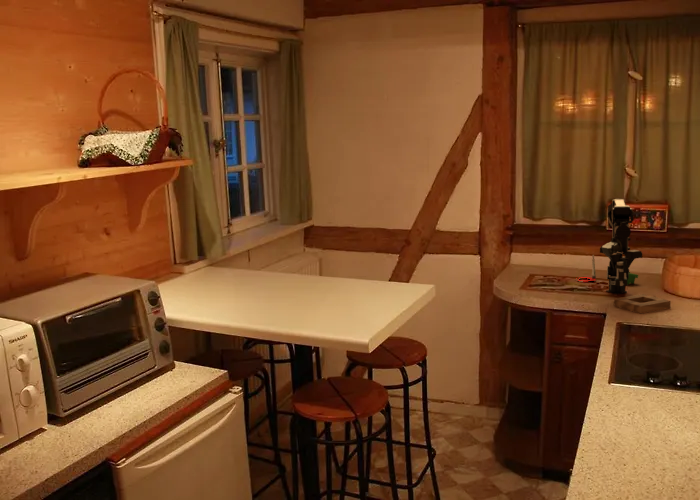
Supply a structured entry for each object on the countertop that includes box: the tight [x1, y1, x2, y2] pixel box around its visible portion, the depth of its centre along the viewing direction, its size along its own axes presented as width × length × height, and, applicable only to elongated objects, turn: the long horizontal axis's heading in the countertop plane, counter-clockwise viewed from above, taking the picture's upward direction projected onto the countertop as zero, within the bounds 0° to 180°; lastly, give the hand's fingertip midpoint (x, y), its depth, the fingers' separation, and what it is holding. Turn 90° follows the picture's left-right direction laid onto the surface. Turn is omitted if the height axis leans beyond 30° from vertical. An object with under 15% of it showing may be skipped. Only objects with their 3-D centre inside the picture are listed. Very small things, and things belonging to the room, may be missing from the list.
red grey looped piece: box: [578, 254, 597, 283], centre depth 322 cm, size 8×13×9 cm
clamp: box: [627, 271, 639, 286], centre depth 315 cm, size 12×6×9 cm, turn 3°
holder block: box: [613, 293, 672, 314], centre depth 272 cm, size 14×16×3 cm
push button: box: [615, 262, 628, 287], centre depth 282 cm, size 7×5×10 cm
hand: (619, 271), depth 281 cm, fingers closed on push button, 5 cm apart
